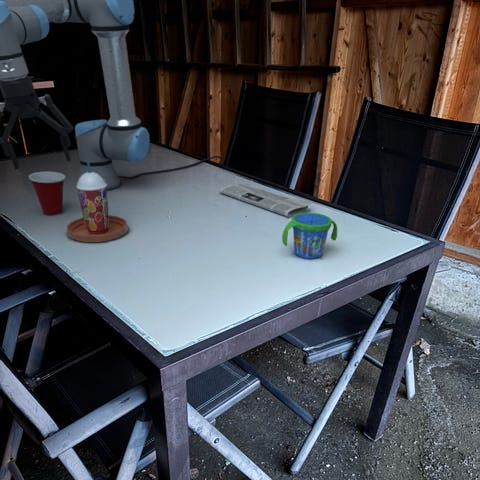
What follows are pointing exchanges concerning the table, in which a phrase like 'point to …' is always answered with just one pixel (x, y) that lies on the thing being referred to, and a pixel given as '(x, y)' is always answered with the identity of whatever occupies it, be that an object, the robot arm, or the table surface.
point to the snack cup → (309, 233)
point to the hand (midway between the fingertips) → (43, 163)
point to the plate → (80, 233)
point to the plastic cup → (49, 191)
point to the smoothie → (93, 201)
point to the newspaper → (266, 199)
